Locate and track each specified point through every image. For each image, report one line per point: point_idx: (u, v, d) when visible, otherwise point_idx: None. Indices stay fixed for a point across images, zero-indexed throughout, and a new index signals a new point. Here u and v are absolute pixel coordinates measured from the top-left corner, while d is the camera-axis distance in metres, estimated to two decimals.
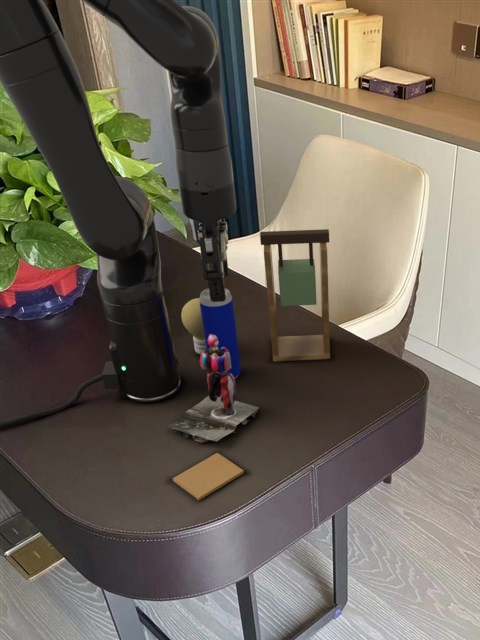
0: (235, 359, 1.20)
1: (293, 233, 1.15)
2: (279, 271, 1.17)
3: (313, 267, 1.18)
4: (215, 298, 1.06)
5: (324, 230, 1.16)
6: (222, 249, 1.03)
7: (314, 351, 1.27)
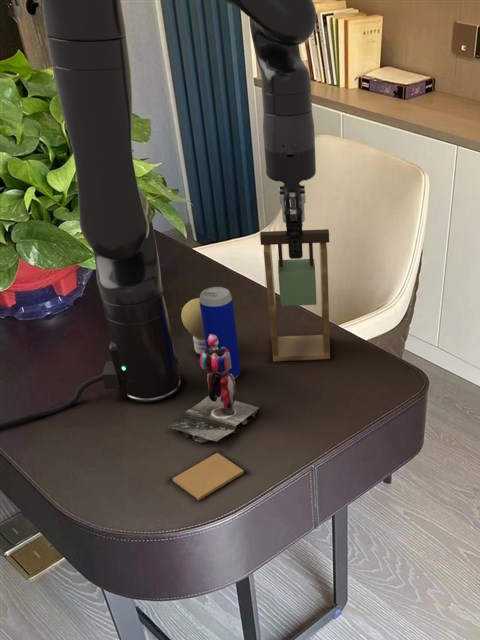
0: (235, 359, 1.20)
1: None
2: (279, 271, 1.17)
3: (313, 267, 1.18)
4: (294, 255, 1.16)
5: (324, 230, 1.16)
6: (302, 212, 1.12)
7: (314, 351, 1.27)
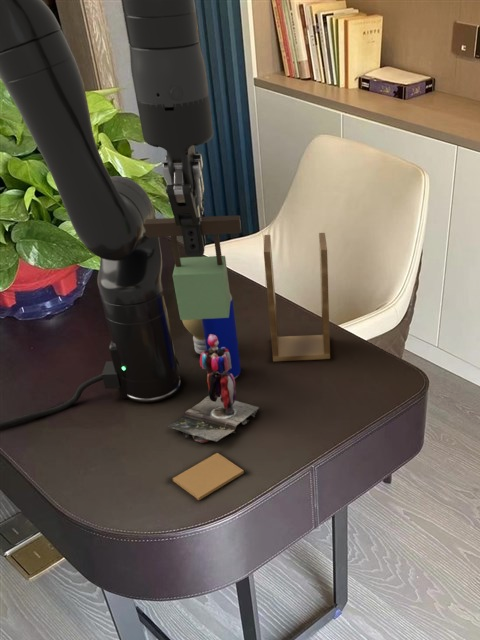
0: (235, 359, 1.20)
1: None
2: (174, 273, 0.86)
3: (221, 267, 0.87)
4: (191, 251, 0.85)
5: (233, 217, 0.85)
6: (197, 191, 0.80)
7: (314, 351, 1.27)
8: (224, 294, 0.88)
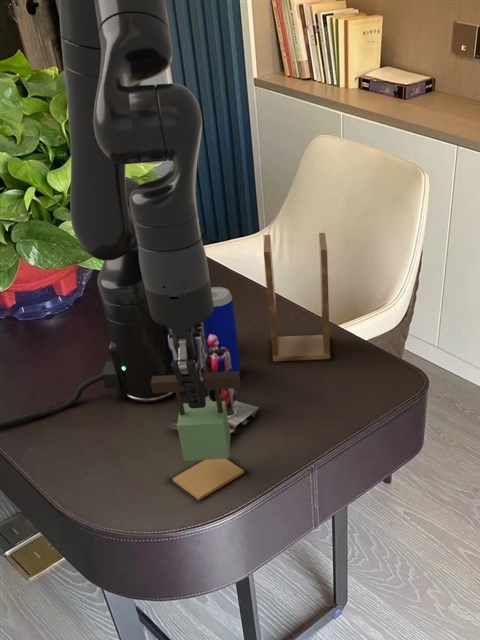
0: (235, 359, 1.20)
1: None
2: (178, 423, 0.94)
3: (222, 416, 0.95)
4: (194, 405, 0.92)
5: (232, 373, 0.92)
6: (199, 358, 0.88)
7: (314, 351, 1.27)
8: (224, 439, 0.95)
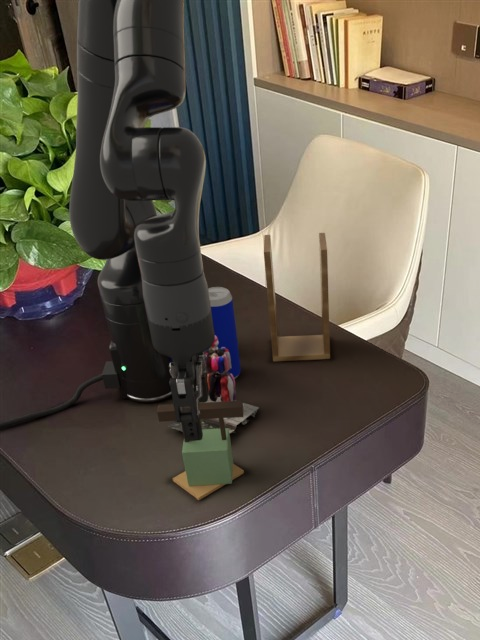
0: (235, 359, 1.20)
1: None
2: (183, 450, 0.96)
3: (225, 443, 0.98)
4: (190, 438, 0.91)
5: (236, 403, 0.95)
6: (198, 385, 0.89)
7: (314, 351, 1.27)
8: (228, 466, 0.98)
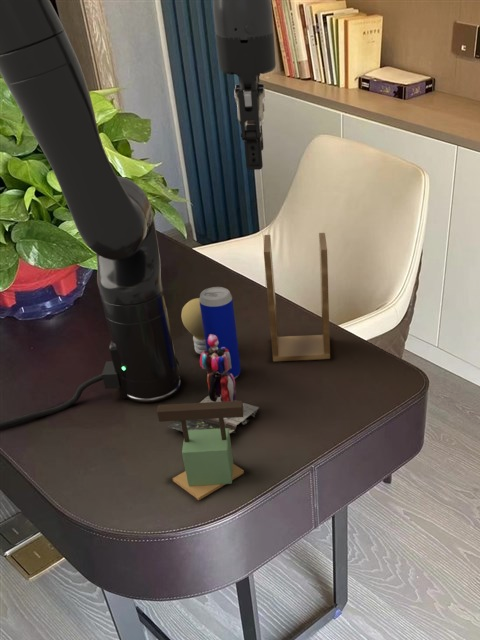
0: (235, 359, 1.20)
1: (198, 408, 0.94)
2: (183, 450, 0.96)
3: (225, 443, 0.98)
4: (252, 164, 1.00)
5: (236, 403, 0.95)
6: (260, 109, 0.97)
7: (314, 351, 1.27)
8: (228, 466, 0.98)
